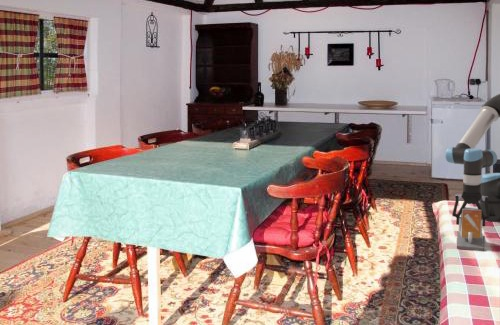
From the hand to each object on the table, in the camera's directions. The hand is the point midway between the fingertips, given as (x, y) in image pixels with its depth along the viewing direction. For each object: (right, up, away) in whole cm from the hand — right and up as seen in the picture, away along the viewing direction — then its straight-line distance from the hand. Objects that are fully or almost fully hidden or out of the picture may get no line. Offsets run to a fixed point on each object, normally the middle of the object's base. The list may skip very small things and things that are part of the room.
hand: (470, 232), depth 250 cm
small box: (0, -2, 0) cm, 2 cm away
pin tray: (0, -4, +1) cm, 5 cm away
